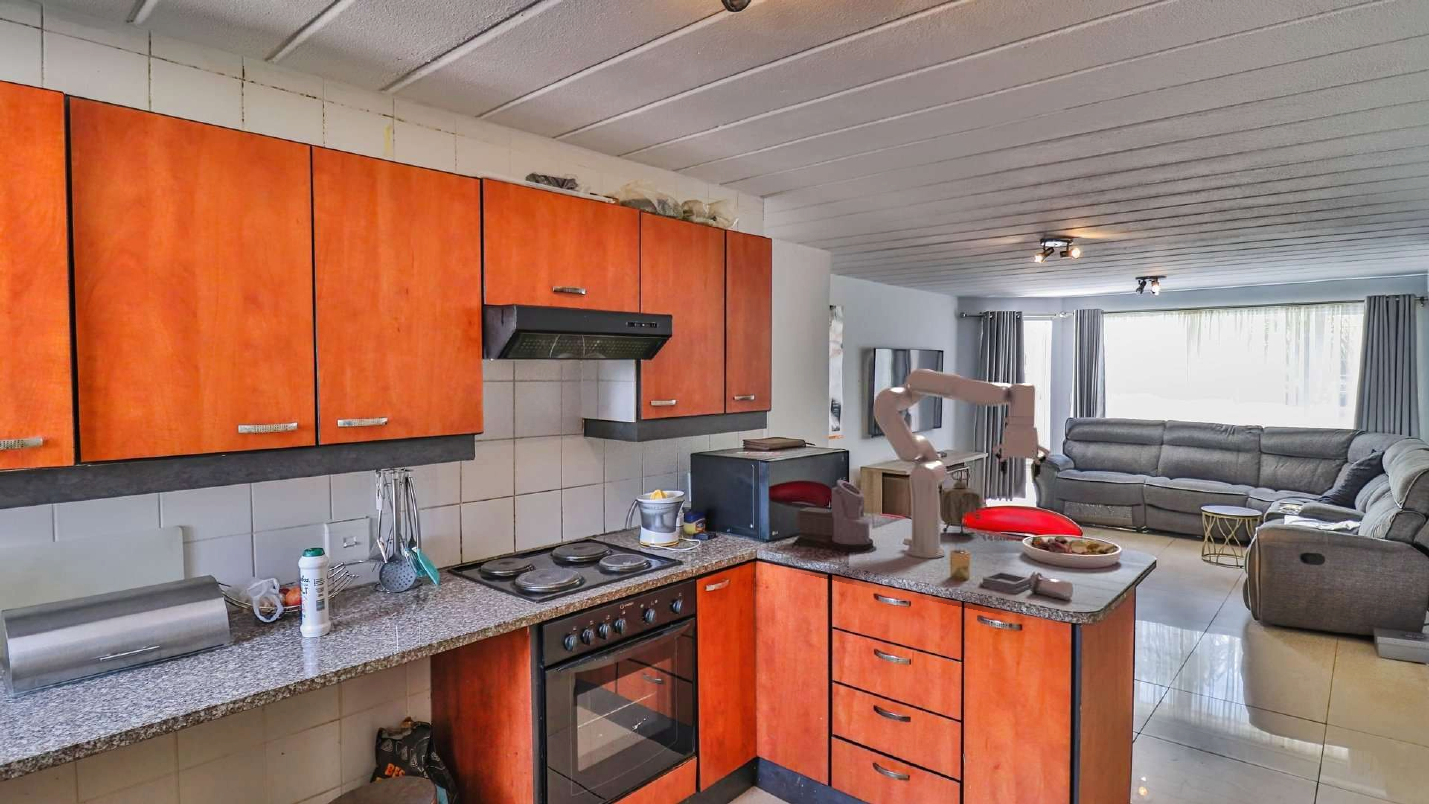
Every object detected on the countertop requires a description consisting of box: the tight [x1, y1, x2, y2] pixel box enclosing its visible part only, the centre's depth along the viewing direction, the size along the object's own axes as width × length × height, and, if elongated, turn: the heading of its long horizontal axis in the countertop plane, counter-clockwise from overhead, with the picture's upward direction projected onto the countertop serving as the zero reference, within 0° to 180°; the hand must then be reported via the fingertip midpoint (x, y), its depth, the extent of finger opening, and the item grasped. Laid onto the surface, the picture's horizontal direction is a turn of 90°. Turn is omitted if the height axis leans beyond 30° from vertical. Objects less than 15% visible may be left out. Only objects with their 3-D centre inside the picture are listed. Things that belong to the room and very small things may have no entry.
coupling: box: [949, 549, 971, 581], centre depth 226 cm, size 6×6×8 cm
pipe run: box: [1029, 571, 1074, 601], centre depth 207 cm, size 10×6×6 cm, turn 40°
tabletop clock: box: [939, 469, 983, 536], centre depth 287 cm, size 14×9×25 cm, turn 85°
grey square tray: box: [979, 571, 1030, 595], centre depth 217 cm, size 11×11×2 cm
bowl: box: [1021, 534, 1123, 569], centre depth 248 cm, size 30×30×8 cm
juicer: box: [791, 479, 878, 555], centre depth 269 cm, size 30×16×24 cm, turn 58°
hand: (1020, 475), depth 238 cm, fingers open, 9 cm apart
